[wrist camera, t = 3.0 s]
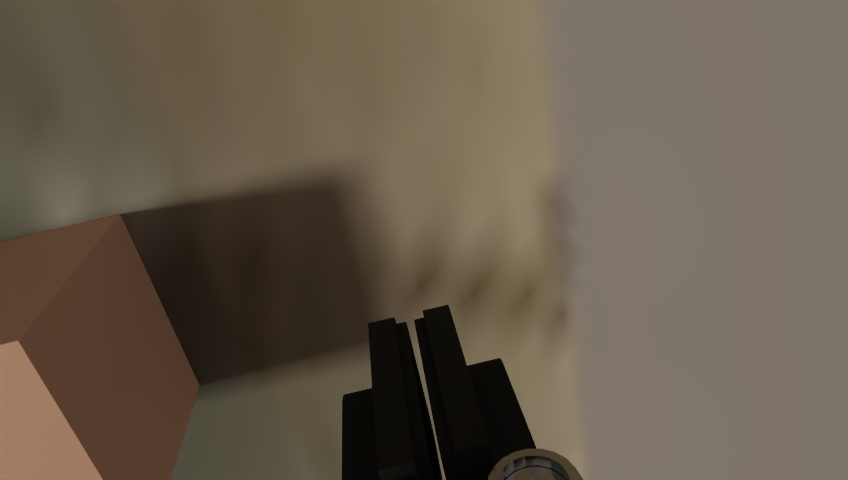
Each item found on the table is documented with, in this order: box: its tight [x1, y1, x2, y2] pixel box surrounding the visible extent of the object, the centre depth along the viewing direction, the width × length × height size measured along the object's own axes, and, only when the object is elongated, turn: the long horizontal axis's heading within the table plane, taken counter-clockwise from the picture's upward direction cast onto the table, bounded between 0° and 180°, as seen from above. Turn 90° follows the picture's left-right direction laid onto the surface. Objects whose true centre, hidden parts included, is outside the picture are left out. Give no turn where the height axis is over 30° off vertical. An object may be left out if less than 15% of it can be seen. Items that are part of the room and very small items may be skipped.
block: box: [0, 214, 199, 480], centre depth 14 cm, size 6×6×6 cm
